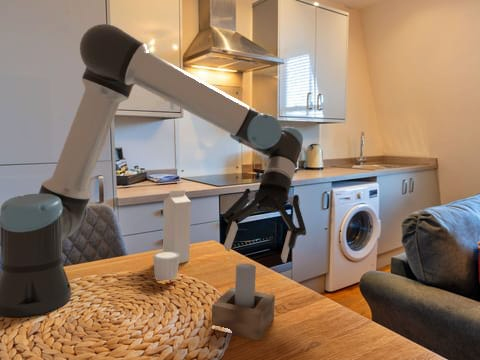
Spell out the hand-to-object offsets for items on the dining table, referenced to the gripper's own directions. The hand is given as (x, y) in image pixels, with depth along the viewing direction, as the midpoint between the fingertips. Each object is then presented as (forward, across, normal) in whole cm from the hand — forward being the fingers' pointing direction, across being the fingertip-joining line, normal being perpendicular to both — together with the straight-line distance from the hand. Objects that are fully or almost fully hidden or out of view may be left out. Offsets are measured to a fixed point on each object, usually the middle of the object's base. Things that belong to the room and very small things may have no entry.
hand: (254, 254), depth 81 cm
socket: (+14, -2, -2) cm, 15 cm away
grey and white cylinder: (+7, +26, -12) cm, 29 cm away
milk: (-2, +32, -24) cm, 40 cm away
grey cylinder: (+14, -2, -2) cm, 15 cm away
